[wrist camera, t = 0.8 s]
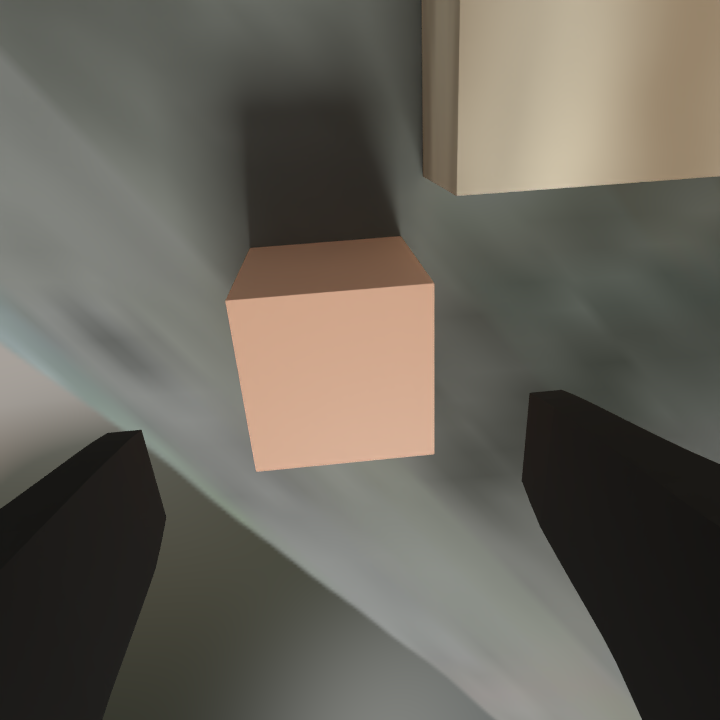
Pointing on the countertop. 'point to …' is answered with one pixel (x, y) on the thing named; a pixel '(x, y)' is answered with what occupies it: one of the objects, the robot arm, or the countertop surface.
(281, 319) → the block
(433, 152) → the base
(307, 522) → the countertop surface
